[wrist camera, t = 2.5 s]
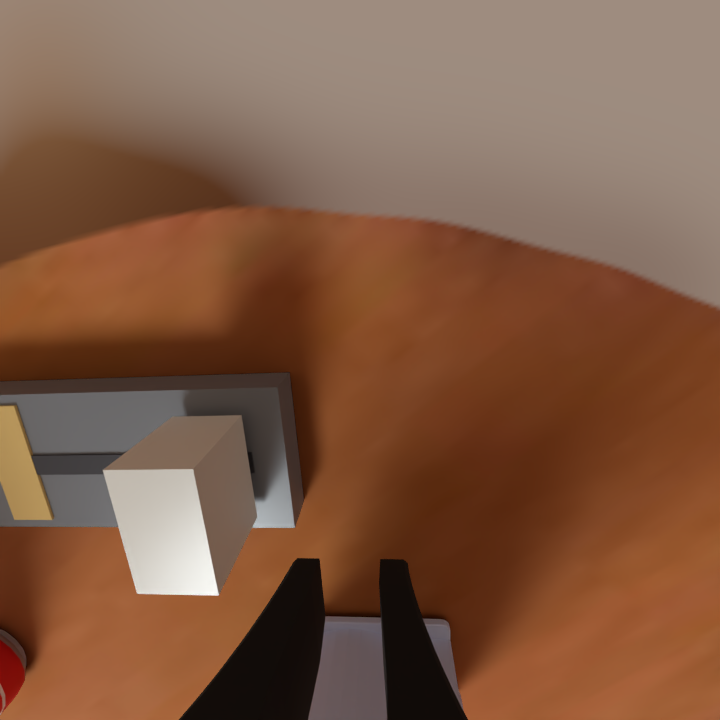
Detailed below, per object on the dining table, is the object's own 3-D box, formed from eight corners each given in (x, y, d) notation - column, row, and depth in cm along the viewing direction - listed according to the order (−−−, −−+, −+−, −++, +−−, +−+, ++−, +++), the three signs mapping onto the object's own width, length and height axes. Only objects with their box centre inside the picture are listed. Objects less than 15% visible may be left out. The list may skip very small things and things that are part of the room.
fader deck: (289, 372, 17) (276, 388, 15) (304, 500, 19) (294, 529, 17) (-22, 382, 19) (-72, 398, 17) (21, 500, 21) (-20, 528, 19)
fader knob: (241, 415, 15) (192, 469, 12) (257, 517, 17) (218, 595, 13) (172, 416, 16) (102, 470, 12) (193, 516, 17) (137, 593, 13)
